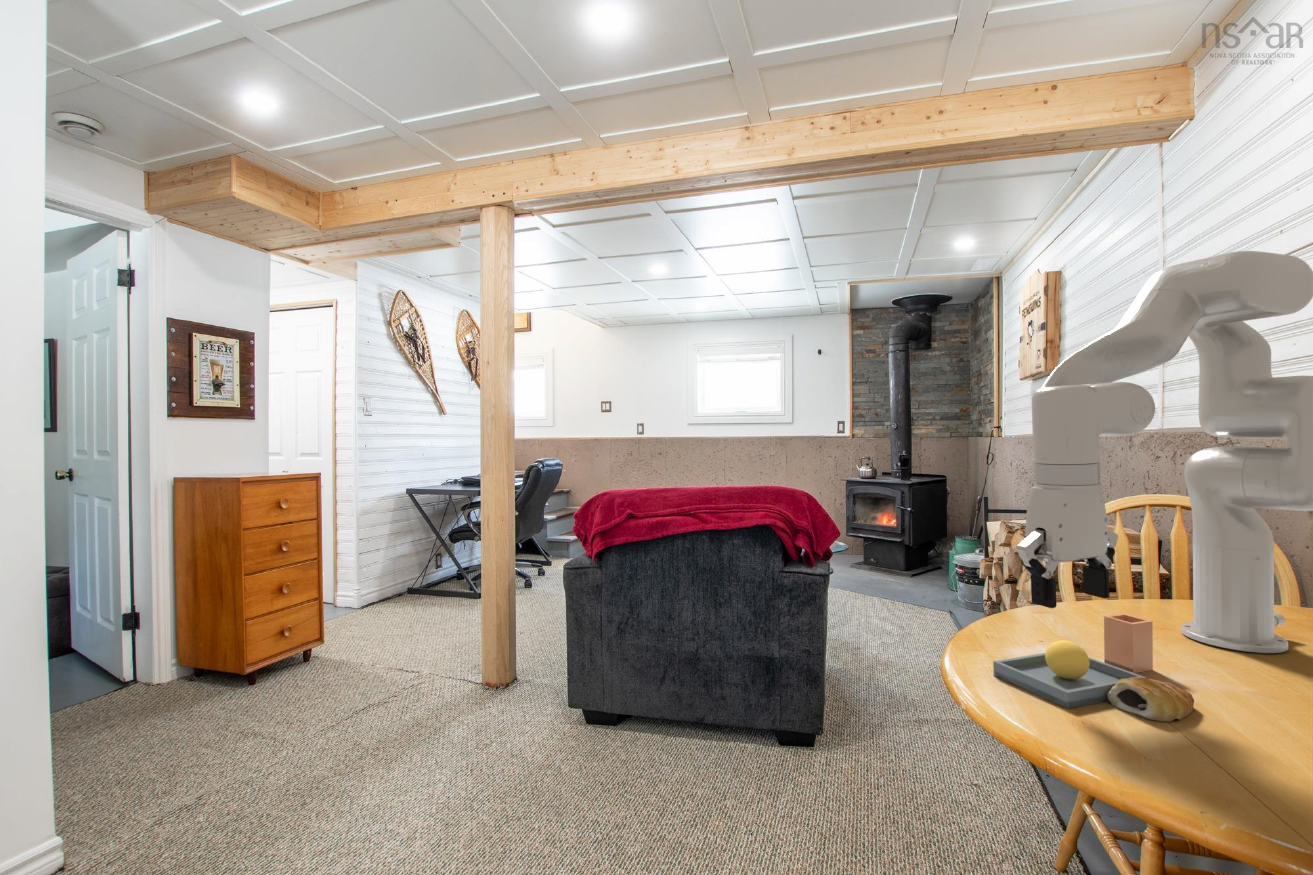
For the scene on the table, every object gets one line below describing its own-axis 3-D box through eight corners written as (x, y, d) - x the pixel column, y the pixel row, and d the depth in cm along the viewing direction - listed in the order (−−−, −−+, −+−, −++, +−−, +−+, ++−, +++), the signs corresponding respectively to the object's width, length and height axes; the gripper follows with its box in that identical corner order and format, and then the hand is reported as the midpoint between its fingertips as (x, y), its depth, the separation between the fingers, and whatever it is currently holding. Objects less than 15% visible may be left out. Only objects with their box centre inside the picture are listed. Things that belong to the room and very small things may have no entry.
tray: (1066, 662, 89) (1066, 649, 89) (1146, 692, 79) (1146, 677, 79) (993, 675, 85) (993, 661, 85) (1068, 708, 75) (1067, 692, 75)
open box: (1123, 659, 90) (1123, 613, 90) (1152, 669, 87) (1152, 621, 86) (1104, 663, 89) (1104, 616, 89) (1133, 673, 85) (1132, 624, 85)
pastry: (1152, 693, 79) (1152, 664, 79) (1213, 716, 73) (1213, 684, 73) (1102, 704, 76) (1102, 674, 76) (1161, 728, 70) (1161, 696, 70)
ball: (1063, 668, 85) (1062, 633, 85) (1099, 682, 80) (1098, 644, 80) (1036, 673, 84) (1036, 638, 84) (1071, 688, 79) (1070, 650, 79)
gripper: (1085, 470, 88) (1089, 586, 89) (994, 478, 83) (998, 601, 83) (1140, 473, 81) (1144, 599, 81) (1044, 482, 76) (1048, 617, 76)
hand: (1070, 600), depth 82 cm, fingers open, 9 cm apart
